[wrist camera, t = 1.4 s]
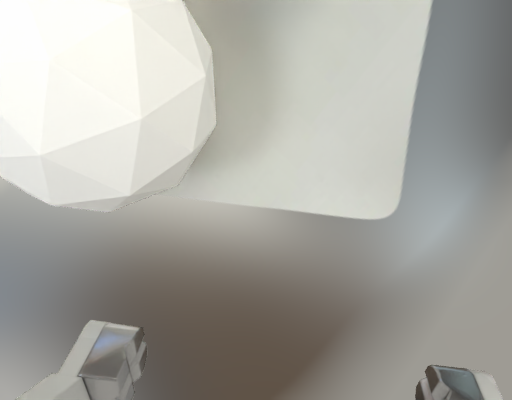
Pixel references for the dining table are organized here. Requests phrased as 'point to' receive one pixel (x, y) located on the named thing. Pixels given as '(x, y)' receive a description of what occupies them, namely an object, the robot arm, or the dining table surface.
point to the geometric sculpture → (101, 99)
